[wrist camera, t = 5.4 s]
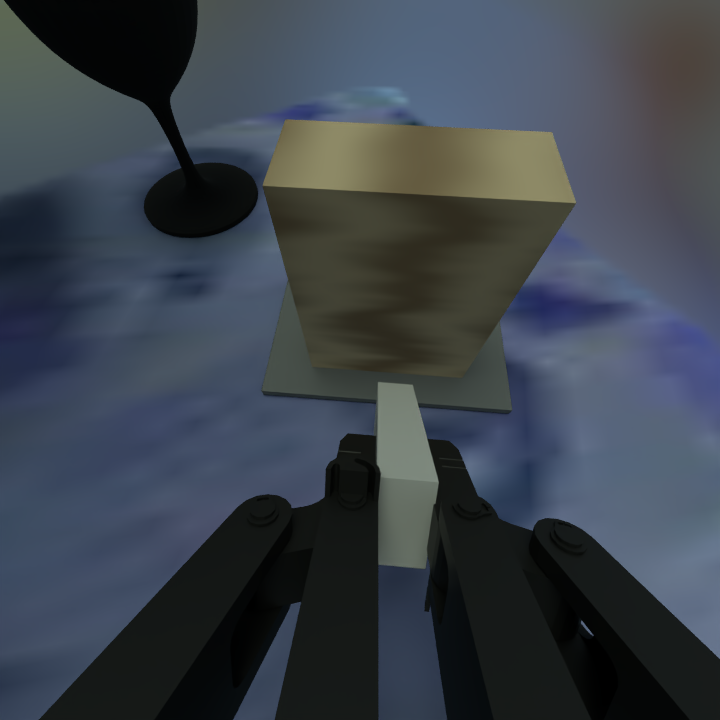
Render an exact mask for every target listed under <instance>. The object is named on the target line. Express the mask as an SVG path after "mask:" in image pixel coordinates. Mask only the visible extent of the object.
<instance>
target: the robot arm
mask: <svg viewBox="0 0 720 720" xmlns="http://www.w3.org/2000/svg"><path fill="white" fill-rule="evenodd" d="M427 556H428V559H429V565H430V575H429V581H428V587H427V594H426V600H425V611H426V612H429V608H430V605H431V612H432V619H433V626H434V633H435V639H436V646H437V653H438V660H439V667H440V674H441V681H442V687H443V694H444V701H445V708H446V715H447V720H720V659H719V658H718V657H717V656H716V655H715V654H714V653H713V652H712V651H711V650H710V649H709V648H708V647H707V646H706V645H704V644H703V643H702V642H701V641H700V640H699V639H698V638H697V637H696V636H695V635H694V634H693V633H692V632H691V631H690V630H689V629H688V628H687V627H686V626H685V625H684V624H682V623H681V622H680V621H679V620H678V619H677V618H676V617H675V616H674V615H673V614H672V613H671V612H670V611H669V610H668V609H667V608H666V607H665V606H664V605H663V604H662V603H660V602H659V601H658V600H657V599H656V598H655V597H654V596H653V595H652V594H651V593H650V592H649V591H648V590H647V589H646V588H645V587H644V586H643V585H642V584H641V583H640V582H638V581H637V580H636V579H635V578H634V577H633V576H632V575H631V574H630V573H629V572H628V571H627V570H626V569H625V568H624V567H623V566H622V565H621V564H620V563H619V562H618V561H617V560H615V559H614V558H613V557H612V556H611V555H610V554H609V553H608V552H607V551H606V550H605V549H604V548H603V547H602V546H601V545H600V544H599V543H598V542H597V541H596V540H595V539H593V538H592V537H591V536H590V535H589V534H587V533H586V532H585V531H583V530H582V529H580V528H578V527H577V526H575V525H573V524H571V523H569V522H565V521H562V520H559V519H551V518H545V519H542V520H539V521H538V522H537V523H536V524H535V526H534V529H533V531H531V530H528V529H525V528H522V527H519V526H516V525H513V524H510V523H508V522H505V521H503V520H501V519H499V518H498V515H497V513H496V512H495V510H494V509H493V507H492V506H491V505H490V504H489V503H488V502H487V501H485V500H484V499H483V498H481V497H479V496H478V495H477V493H476V490H475V488H474V485H473V483H472V481H471V478H470V476H469V474H468V471H467V469H466V466H465V464H464V462H463V461H462V457H461V454H460V452H459V450H458V449H457V448H456V447H455V446H454V445H453V444H452V443H451V442H450V441H445V440H433V439H427V436H426V433H425V429H424V425H423V422H422V418H421V414H420V410H419V407H418V403H417V399H416V395H415V392H414V388H413V385H409V384H396V383H383V382H378V388H377V401H376V413H375V425H374V436H372V435H360V434H347V435H346V436H345V437H344V438H343V439H342V440H341V441H340V445H339V450H338V454H337V458H336V459H334V460H333V461H331V462H330V463H329V464H328V466H327V468H326V481H325V497H324V498H323V499H322V500H320V501H319V502H317V503H314V504H312V505H308V506H304V507H299V508H291V505H290V504H289V502H288V501H287V500H286V499H284V498H282V497H280V496H277V495H269V494H267V495H260V496H255V497H253V498H251V499H248V500H246V501H245V502H243V503H242V504H241V505H240V506H238V507H237V508H236V509H235V511H234V512H233V513H232V514H231V515H230V516H229V517H228V518H227V519H226V520H225V521H224V522H223V523H222V524H221V525H220V527H219V528H218V529H217V530H216V531H215V532H214V533H213V534H212V535H211V536H210V537H209V538H208V539H207V540H206V542H205V543H204V544H203V545H202V546H201V547H200V548H199V549H198V550H197V551H196V552H195V553H194V554H193V555H192V556H191V558H190V559H189V560H188V561H187V562H186V563H185V564H184V565H183V566H182V567H181V568H180V569H179V570H178V571H177V573H176V574H175V575H174V576H173V577H172V578H171V579H170V580H169V581H168V582H167V583H166V584H165V585H164V586H163V588H162V589H161V590H160V591H159V592H158V593H157V594H156V595H155V596H154V597H153V598H152V599H151V600H150V601H149V602H148V604H147V605H146V606H145V607H144V608H143V609H142V610H141V611H140V612H139V613H138V614H137V615H136V616H135V617H134V619H133V620H132V621H131V622H130V623H129V624H128V625H127V626H126V627H125V628H124V629H123V630H122V631H121V632H120V634H119V635H118V636H117V637H116V638H115V639H114V640H113V641H112V642H111V643H110V644H109V645H108V646H107V647H106V648H105V650H104V651H103V652H102V653H101V654H100V655H99V656H98V657H97V658H96V659H95V660H94V661H93V662H92V663H91V665H90V666H89V667H88V668H87V669H86V670H85V671H84V672H83V673H82V674H81V675H80V676H79V677H78V678H77V680H76V681H75V682H74V683H73V684H72V685H71V686H70V687H69V688H68V689H67V690H66V691H65V692H64V693H63V694H62V696H61V697H60V698H59V699H58V700H57V701H56V702H55V703H54V704H53V705H52V706H51V707H50V708H49V709H48V711H47V712H46V713H45V714H44V715H43V716H42V717H41V718H40V719H39V720H233V719H234V717H235V715H236V713H237V711H238V709H239V707H240V705H241V703H242V701H243V699H244V697H245V695H246V693H247V691H248V689H249V687H250V685H251V683H252V681H253V679H254V677H255V675H256V673H257V671H258V669H259V667H260V665H261V664H262V662H263V660H264V658H265V656H266V654H267V652H268V650H269V648H270V646H271V644H272V642H273V640H274V638H275V636H276V634H277V632H278V630H279V628H280V626H281V624H282V622H283V620H284V618H285V616H286V614H287V612H288V610H289V608H290V605H291V604H293V603H297V602H301V606H300V610H299V615H298V619H297V624H296V628H295V632H294V637H293V641H292V646H291V650H290V655H289V659H288V664H287V668H286V672H285V677H284V681H283V686H282V690H281V695H280V699H279V704H278V708H277V712H276V717H275V720H378V565H389V566H399V567H409V568H420V569H426V562H427ZM581 621H583V622H584V624H585V625H586V626H587V627H588V629H589V630H590V631H591V633H592V634H593V635H594V636H592V635H591V634H590V633H589V632H588V631H587V630H586V629H585V628H584V627H583V625H582V624H581Z"/></svg>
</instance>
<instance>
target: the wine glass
mask: <svg viewBox="0 0 720 720" xmlns="http://www.w3.org/2000/svg"><path fill="white" fill-rule="evenodd" d="M4 1H5V2H6V4H7V5H8V6H9V7H10V8H11V10H12V11H13V12H14V13H15V14H16V15H17V16H18V17H19V19H20V20H21V21H22V22H23V23H24V24H25V25H26V26H27V27H28V28H29V29H30V30H31V32H32V33H33V34H34V35H36V37H38V38H39V40H41V41H42V42H43V43H44V44H45V45H46V46H47V47H48V48H49V49H51V50H52V51H53V52H54V53H55V54H57V55H58V56H59V57H60V58H62V59H63V60H64V61H66V62H67V63H69V64H70V65H71V66H73V67H74V68H75V69H77V70H79V71H80V72H82V73H83V74H85V75H87V76H88V77H90V78H92V79H93V80H96V81H97V82H99V83H101V84H102V85H105V86H107V87H109V88H111V89H113V90H115V91H117V92H120V93H122V94H124V95H127V96H129V97H132V98H134V99H137V100H139V101H141V102H143V103H145V104H146V105H147V106H148V107H149V108H150V110H151V111H152V112H153V114H154V115H155V117H156V118H157V120H158V122H159V123H160V125H161V127H162V129H163V130H164V132H165V134H166V136H167V138H168V140H169V142H170V144H171V146H172V148H173V150H174V152H175V154H176V156H177V158H178V160H179V163H180V165H181V168H180V169H178V170H175V171H173V172H171V173H169V174H168V175H166V176H164V177H163V178H161V179H160V180H159V181H158V182H157V183H155V184H154V185H153V187H152V188H151V189H150V190H149V192H148V194H147V196H146V198H145V202H144V211H145V214H146V216H147V218H148V220H149V221H150V223H151V224H152V225H153V226H154V227H156V228H157V229H158V230H160V231H162V232H164V233H166V234H169V235H173V236H178V237H189V238H191V237H203V236H209V235H213V234H217V233H219V232H222V231H225V230H227V229H229V228H231V227H233V226H235V225H236V224H238V223H239V222H241V221H242V220H243V219H244V218H246V217H247V216H248V215H249V213H250V212H251V211H252V210H253V208H254V206H255V205H256V202H257V197H258V191H257V186H256V183H255V181H254V180H253V178H252V177H251V176H250V175H249V174H248V173H247V172H246V171H244V170H242V169H240V168H238V167H236V166H233V165H229V164H223V163H201V164H195V165H194V164H193V162H192V160H191V158H190V156H189V154H188V152H187V149H186V147H185V145H184V142H183V140H182V138H181V135H180V133H179V130H178V127H177V125H176V122H175V119H174V116H173V113H172V109H171V105H170V97H171V94H172V92H173V90H174V89H175V87H176V86H177V84H178V83H179V81H180V79H181V77H182V75H183V74H184V71H185V70H186V67H187V65H188V62H189V59H190V57H191V54H192V51H193V47H194V43H195V38H196V31H197V15H198V10H197V0H4Z"/></svg>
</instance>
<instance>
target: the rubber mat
mask: <svg viewBox="0 0 720 720" xmlns="http://www.w3.org/2000/svg"><path fill="white" fill-rule="evenodd" d="M378 382H383V383H396V384H409V385H413V388H414V392H415V395H416V399H417V403H418V406H419V407H432V408H445V409H458V410H471V411H483V412H496V413H510V412H511V411H512V405H511V398H510V391H509V384H508V377H507V370H506V363H505V356H504V349H503V342H502V335H501V328H500V321H499V322H498V324H497V325H496V327H495V328H494V330H493V331H492V333H491V335H490V336H489V338H488V339H487V341H486V342H485V344H484V345H483V347H482V348H481V350H480V351H479V353H478V354H477V356H476V358H475V359H474V361H473V362H472V364H471V365H470V367H469V368H468V370H467V371H466V373H465V374H464V376H463V377H462V378H456V377H442V376H429V375H415V374H402V373H388V372H375V371H361V370H348V369H334V368H321V367H312V365H311V361H310V357H309V354H308V350H307V346H306V343H305V339H304V335H303V332H302V328H301V324H300V321H299V317H298V313H297V310H296V306H295V302H294V299H293V295H292V291H291V288H290V284H289V281H288V282H287V286H286V290H285V295H284V299H283V303H282V307H281V311H280V316H279V320H278V324H277V328H276V332H275V336H274V341H273V345H272V349H271V353H270V357H269V362H268V366H267V370H266V374H265V378H264V383H263V387H262V392H263V394H265V395H277V396H290V397H303V398H316V399H329V400H342V401H355V402H368V403H376V401H377V388H378Z"/></svg>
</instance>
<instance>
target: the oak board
mask: <svg viewBox="0 0 720 720" xmlns="http://www.w3.org/2000/svg"><path fill="white" fill-rule="evenodd" d="M263 189H264V193H265V196H266V200H267V204H268V207H269V211H270V215H271V218H272V222H273V226H274V229H275V233H276V237H277V240H278V244H279V248H280V251H281V255H282V259H283V262H284V266H285V270H286V273H287V277H288V281H289V284H290V288H291V291H292V295H293V299H294V302H295V306H296V310H297V313H298V317H299V321H300V324H301V328H302V332H303V335H304V339H305V343H306V346H307V350H308V354H309V357H310V361H311V365H312V367H321V368H334V369H348V370H361V371H375V372H388V373H402V374H415V375H429V376H442V377H456V378H462V377H463V376H464V374H465V373H466V371H467V370H468V368H469V367H470V365H471V364H472V362H473V361H474V359H475V358H476V356H477V354H478V353H479V351H480V350H481V348H482V347H483V345H484V344H485V342H486V341H487V339H488V338H489V336H490V335H491V333H492V331H493V330H494V328H495V327H496V325H497V324H498V322H499V321H500V319H501V318H502V316H503V315H504V313H505V312H506V310H507V308H508V307H509V305H510V304H511V302H512V301H513V299H514V298H515V296H516V295H517V293H518V292H519V290H520V289H521V287H522V285H523V284H524V282H525V281H526V279H527V278H528V276H529V275H530V273H531V272H532V270H533V269H534V267H535V266H536V264H537V262H538V261H539V259H540V258H541V256H542V255H543V253H544V252H545V250H546V249H547V247H548V246H549V244H550V243H551V241H552V239H553V238H554V236H555V235H556V233H557V232H558V230H559V229H560V227H561V226H562V224H563V223H564V221H565V220H566V218H567V216H568V215H569V213H570V212H571V210H572V209H573V207H574V206H575V204H576V201H575V198H574V195H573V192H572V189H571V186H570V184H569V181H568V178H567V175H566V172H565V169H564V166H563V163H562V160H561V157H560V155H559V152H558V149H557V146H556V143H555V140H554V137H553V134H552V132H533V131H513V130H492V129H491V130H490V129H472V128H451V127H430V126H409V125H389V124H368V123H347V122H326V121H306V120H285V122H284V125H283V128H282V131H281V134H280V137H279V140H278V143H277V146H276V148H275V151H274V154H273V157H272V160H271V163H270V166H269V169H268V171H267V174H266V177H265V180H264V183H263Z"/></svg>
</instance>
